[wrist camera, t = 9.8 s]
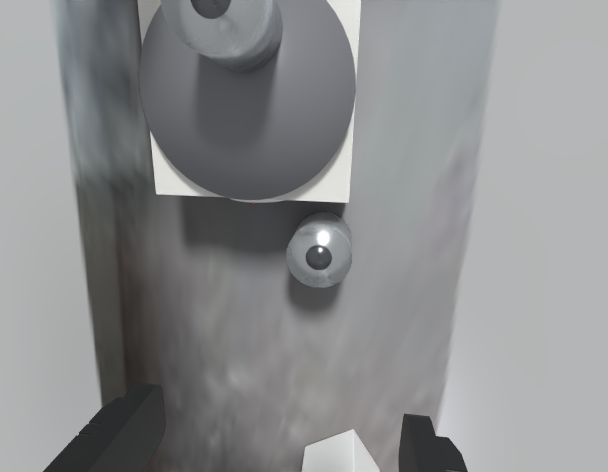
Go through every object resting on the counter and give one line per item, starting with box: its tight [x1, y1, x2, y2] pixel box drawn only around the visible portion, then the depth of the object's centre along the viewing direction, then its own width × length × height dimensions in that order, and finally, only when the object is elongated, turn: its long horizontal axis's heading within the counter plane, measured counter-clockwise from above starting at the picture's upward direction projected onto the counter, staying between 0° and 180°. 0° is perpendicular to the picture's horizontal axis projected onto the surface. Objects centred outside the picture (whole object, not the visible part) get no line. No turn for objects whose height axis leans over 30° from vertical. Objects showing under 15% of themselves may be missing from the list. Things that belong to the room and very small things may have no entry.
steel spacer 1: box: [160, 0, 283, 73], centre depth 18 cm, size 5×5×5 cm
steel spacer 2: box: [286, 212, 352, 288], centre depth 29 cm, size 5×5×5 cm
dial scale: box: [138, 0, 361, 204], centre depth 25 cm, size 14×14×7 cm
